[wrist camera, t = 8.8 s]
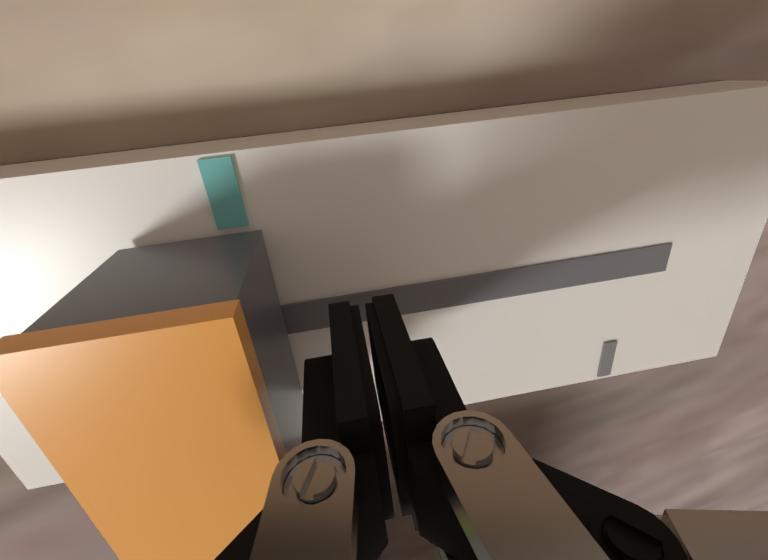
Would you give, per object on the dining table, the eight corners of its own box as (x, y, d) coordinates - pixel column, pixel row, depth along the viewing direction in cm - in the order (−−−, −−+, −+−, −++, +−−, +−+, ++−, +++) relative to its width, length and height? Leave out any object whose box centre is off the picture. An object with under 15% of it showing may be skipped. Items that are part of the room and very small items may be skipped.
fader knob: (264, 225, 10) (233, 316, 6) (307, 400, 13) (304, 541, 9) (112, 246, 10) (-25, 358, 6) (190, 422, 13) (134, 578, 9)
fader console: (722, 80, 14) (822, 80, 11) (659, 317, 19) (719, 357, 16) (-82, 175, 11) (-206, 204, 9) (74, 422, 16) (25, 492, 13)
